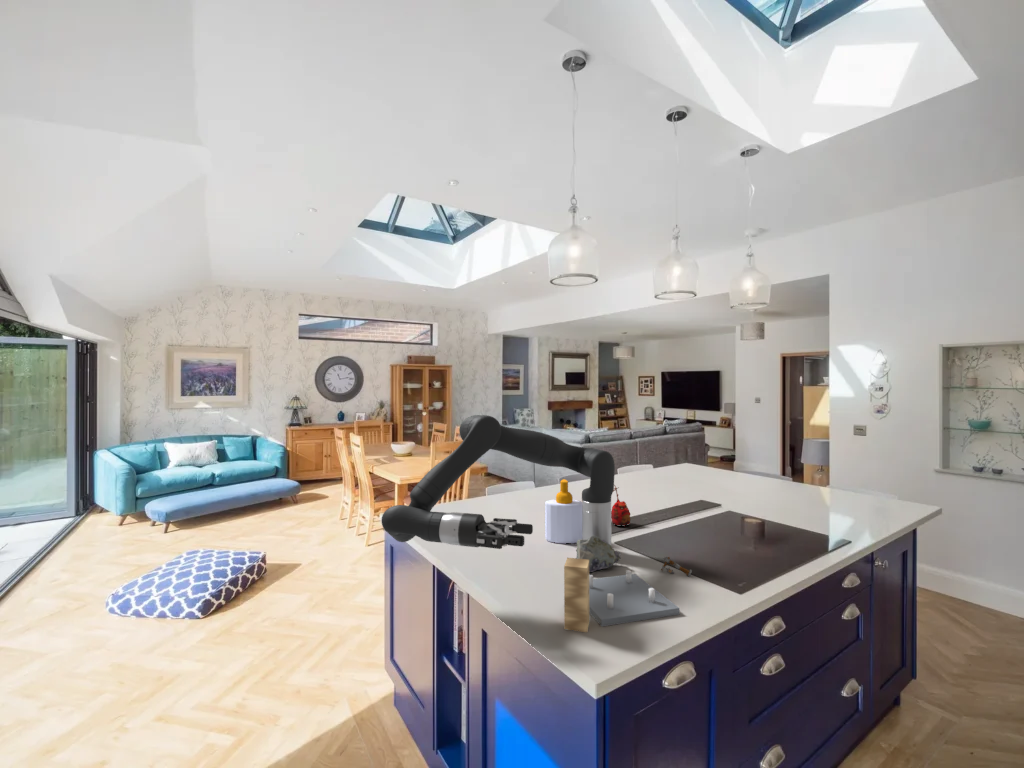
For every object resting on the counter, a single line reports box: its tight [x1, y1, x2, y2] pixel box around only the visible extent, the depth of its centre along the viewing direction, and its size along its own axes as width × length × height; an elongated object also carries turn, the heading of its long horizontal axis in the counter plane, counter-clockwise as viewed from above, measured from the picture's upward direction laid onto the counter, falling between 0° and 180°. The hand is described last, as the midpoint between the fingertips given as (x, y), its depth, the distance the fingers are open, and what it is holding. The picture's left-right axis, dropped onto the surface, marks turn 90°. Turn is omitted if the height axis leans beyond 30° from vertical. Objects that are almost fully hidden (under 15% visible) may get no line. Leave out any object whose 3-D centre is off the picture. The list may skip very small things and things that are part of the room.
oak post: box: [563, 557, 590, 633], centre depth 102 cm, size 5×5×14 cm
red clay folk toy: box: [611, 484, 631, 525], centre depth 175 cm, size 8×7×15 cm
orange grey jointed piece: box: [660, 556, 693, 578], centre depth 130 cm, size 2×8×4 cm, turn 65°
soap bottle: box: [544, 478, 582, 545], centre depth 158 cm, size 13×8×20 cm, turn 84°
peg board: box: [589, 569, 680, 627], centre depth 114 cm, size 20×20×4 cm
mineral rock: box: [575, 535, 622, 573], centre depth 133 cm, size 13×11×10 cm
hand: (528, 535), depth 105 cm, fingers open, 8 cm apart
